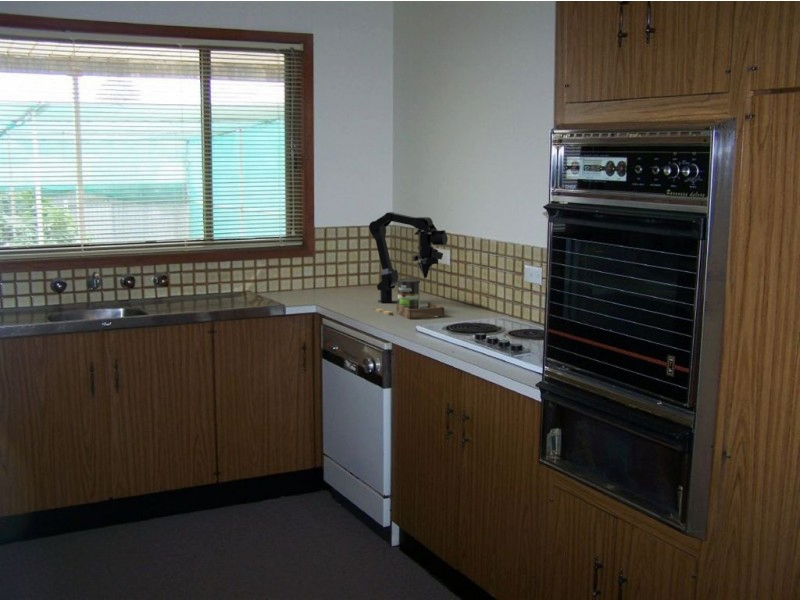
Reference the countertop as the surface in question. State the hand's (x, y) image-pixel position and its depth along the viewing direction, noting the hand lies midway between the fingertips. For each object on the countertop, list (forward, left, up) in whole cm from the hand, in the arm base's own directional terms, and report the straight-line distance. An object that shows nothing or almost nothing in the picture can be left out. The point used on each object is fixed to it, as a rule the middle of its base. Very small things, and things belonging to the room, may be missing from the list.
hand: (425, 277), depth 429 cm
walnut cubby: (+23, -13, -13) cm, 29 cm away
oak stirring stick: (+11, -26, -14) cm, 31 cm away
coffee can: (+10, -13, -13) cm, 21 cm away
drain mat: (+8, -2, -13) cm, 15 cm away
